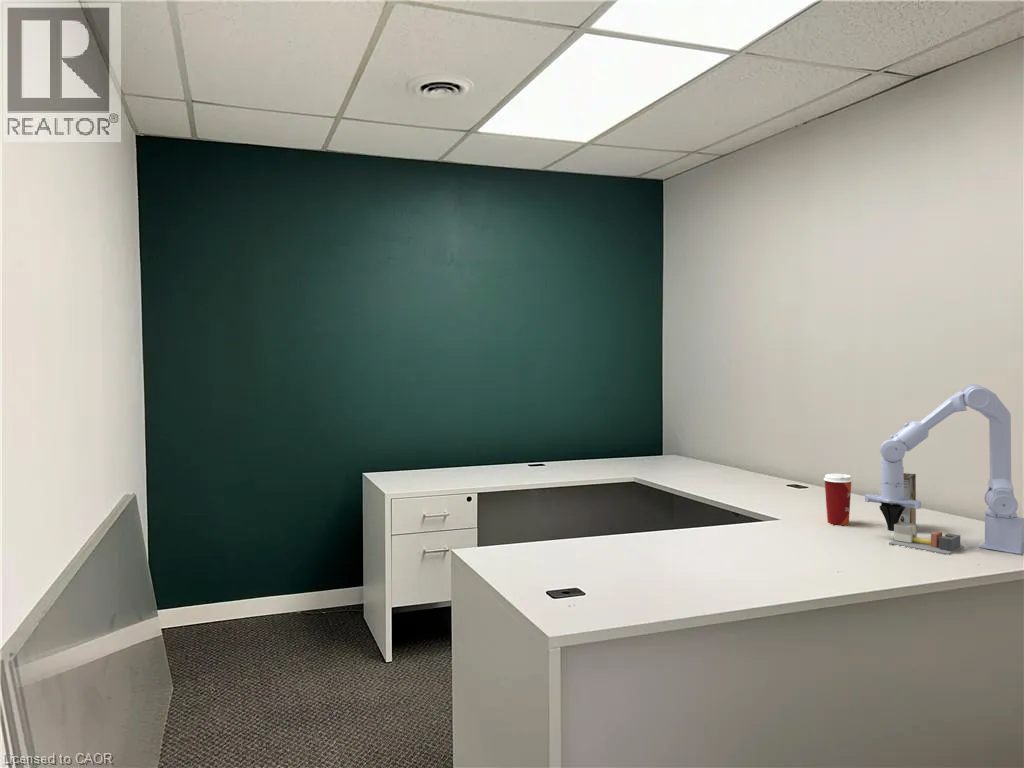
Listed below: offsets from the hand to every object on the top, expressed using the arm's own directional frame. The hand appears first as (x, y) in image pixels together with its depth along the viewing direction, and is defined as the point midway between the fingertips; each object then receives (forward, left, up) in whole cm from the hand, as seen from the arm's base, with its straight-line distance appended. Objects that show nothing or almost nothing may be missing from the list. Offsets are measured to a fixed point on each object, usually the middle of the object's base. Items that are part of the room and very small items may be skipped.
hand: (892, 530), depth 210 cm
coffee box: (+4, -15, -3) cm, 16 cm away
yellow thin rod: (-7, 0, -3) cm, 8 cm away
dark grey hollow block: (-15, 0, -3) cm, 15 cm away
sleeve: (-4, 0, -3) cm, 4 cm away
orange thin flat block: (-12, 0, -3) cm, 12 cm away
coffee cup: (+20, -8, -3) cm, 21 cm away
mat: (-9, 0, -3) cm, 9 cm away
